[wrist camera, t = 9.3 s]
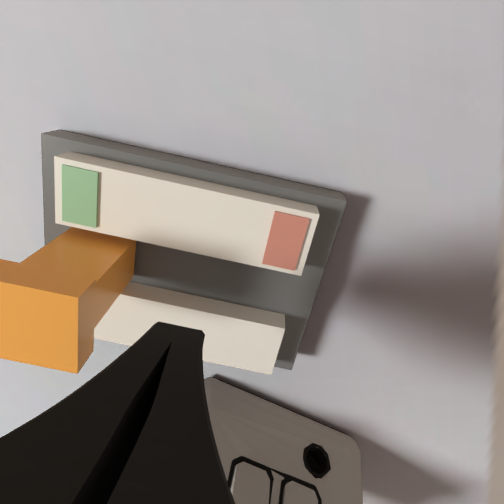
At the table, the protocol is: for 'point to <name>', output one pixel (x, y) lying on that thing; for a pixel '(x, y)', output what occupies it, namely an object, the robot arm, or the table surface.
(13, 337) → the breaker handle
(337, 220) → the breaker base
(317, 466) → the electrical switch
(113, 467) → the robot arm
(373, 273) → the table surface
